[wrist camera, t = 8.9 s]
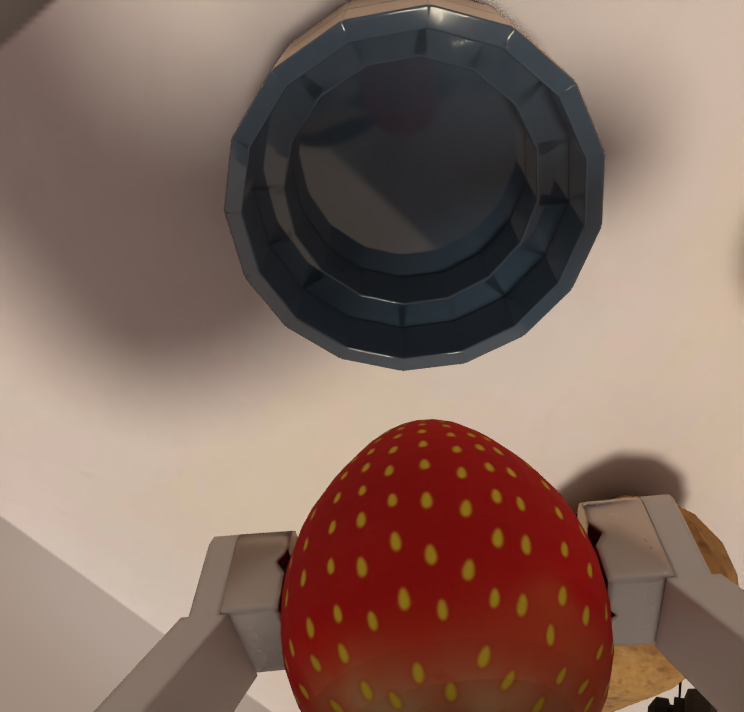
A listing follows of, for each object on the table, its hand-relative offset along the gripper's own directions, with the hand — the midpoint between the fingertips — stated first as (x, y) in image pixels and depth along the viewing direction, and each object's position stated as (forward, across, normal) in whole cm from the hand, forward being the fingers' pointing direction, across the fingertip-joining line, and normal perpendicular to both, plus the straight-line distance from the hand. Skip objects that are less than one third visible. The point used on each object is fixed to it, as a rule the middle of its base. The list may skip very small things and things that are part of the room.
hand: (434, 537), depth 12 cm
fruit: (+3, 0, 0) cm, 3 cm away
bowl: (+17, 0, -1) cm, 17 cm away
